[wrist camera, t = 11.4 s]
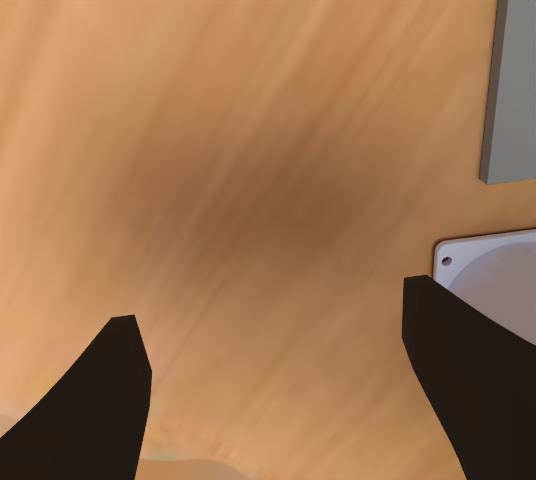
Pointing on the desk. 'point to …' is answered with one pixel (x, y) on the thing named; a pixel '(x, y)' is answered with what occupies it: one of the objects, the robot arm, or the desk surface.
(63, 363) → the desk surface
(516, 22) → the mat
